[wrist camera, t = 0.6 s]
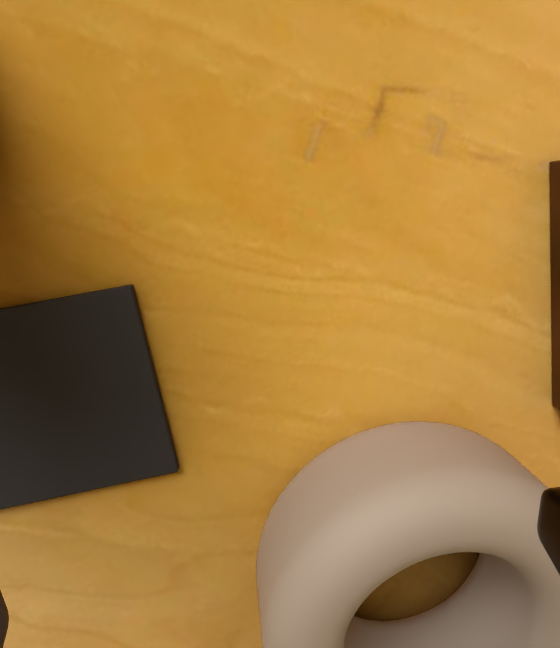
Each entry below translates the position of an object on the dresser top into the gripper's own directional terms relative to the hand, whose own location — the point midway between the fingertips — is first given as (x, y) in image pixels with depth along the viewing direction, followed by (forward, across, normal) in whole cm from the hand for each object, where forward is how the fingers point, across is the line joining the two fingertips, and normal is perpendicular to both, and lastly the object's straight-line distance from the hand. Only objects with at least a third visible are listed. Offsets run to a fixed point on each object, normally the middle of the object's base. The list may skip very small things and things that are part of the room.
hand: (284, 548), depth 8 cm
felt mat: (+14, +9, +4) cm, 17 cm away
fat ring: (+13, -7, +14) cm, 20 cm away
